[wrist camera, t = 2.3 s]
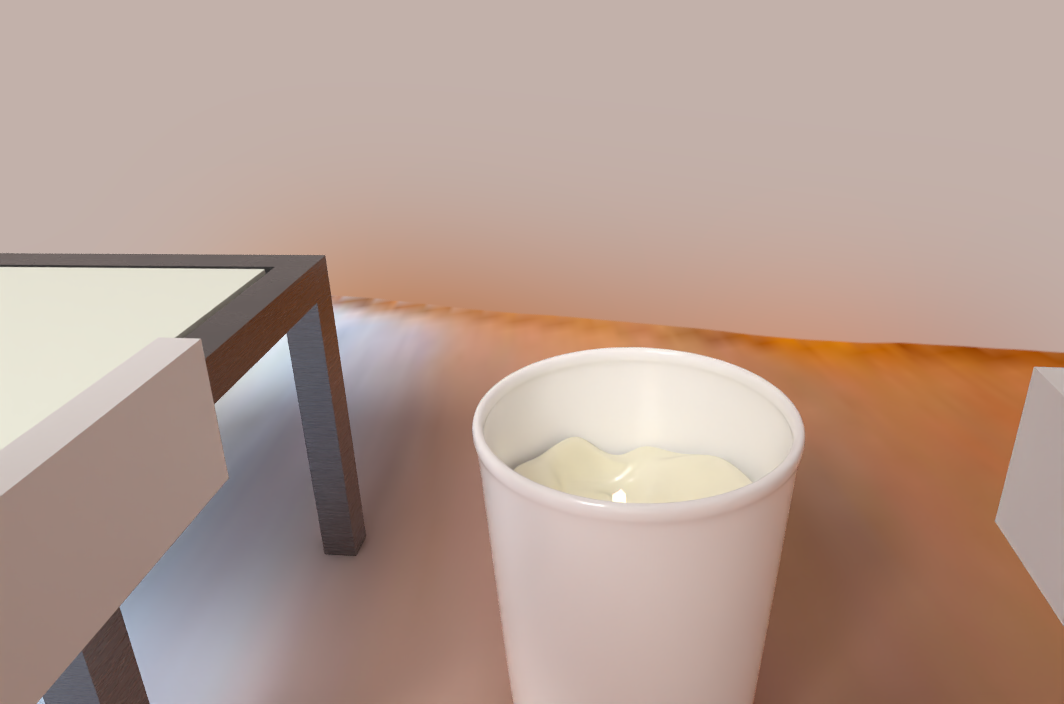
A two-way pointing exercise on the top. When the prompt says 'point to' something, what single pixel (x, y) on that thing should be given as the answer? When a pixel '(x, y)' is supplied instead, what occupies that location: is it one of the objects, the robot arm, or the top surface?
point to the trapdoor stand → (230, 351)
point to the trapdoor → (92, 327)
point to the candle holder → (636, 524)
